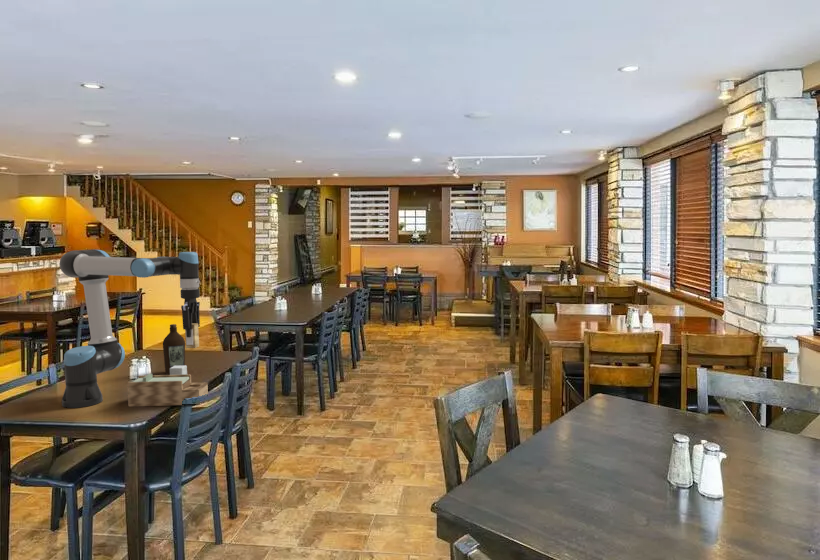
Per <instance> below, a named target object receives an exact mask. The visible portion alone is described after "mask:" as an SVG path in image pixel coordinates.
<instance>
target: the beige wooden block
mask: <svg viewBox="0 0 820 560" xmlns="http://www.w3.org/2000/svg"><path fill="white" fill-rule="evenodd" d="M192 329H193V345H186V344H185V349H197V348H199V347H200V336H199V335H200V334H199V333H200V332H199V327H198V323H192ZM184 332H185V336H184V337H185V338H184V339H186V330H184Z"/></svg>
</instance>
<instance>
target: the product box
mask: <svg viewBox="0 0 820 560" xmlns="http://www.w3.org/2000/svg"><path fill="white" fill-rule="evenodd" d="M186 374H188V366H187V365H186V364H185V365H184V366H173V367H171V368H170V375H186Z"/></svg>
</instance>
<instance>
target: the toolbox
mask: <svg viewBox="0 0 820 560" xmlns="http://www.w3.org/2000/svg"><path fill="white" fill-rule="evenodd" d="M147 375H148V374H146V375H138V377H137V379H138V378H143V377H145V376H147ZM152 376H153V378H159V377H189V380H187V381H186V382H185V383H183V384H182V381H153V382H133V381H128V382H127V383H126V384H127V401H128V402H127V403H128V407H148V406H149V407H157V406H159V407H161V406H183V405H182V401H183V400H184V399H185V398H192V397H198V396H202V395H205V394H208V395H209V391H208V389H209V388H208V387H209V386H208V385H209V384H208V382H206V381H205V382H204V381H203V382H202V381H201V382H192V375H191V374H188V373H187V374H186V375H167V374H159V375H158V374H157V375H156V374H154V375H153V374H152ZM201 404H202V403H200V404H196V405H201Z"/></svg>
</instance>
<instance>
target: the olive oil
mask: <svg viewBox="0 0 820 560" xmlns="http://www.w3.org/2000/svg"><path fill="white" fill-rule="evenodd" d="M177 328H178V327H177V324H175V323H173V324H169V333H168V334H167V335H166V336H165V338H163V341H162V351H163V358H164V359H163V360H164V371H165V373H164V374H165V375H170V368H171V367H173V366H184V365H186V339H185V338H184V337H183V335H181V334H180V333H179V332H178V329H177Z"/></svg>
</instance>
